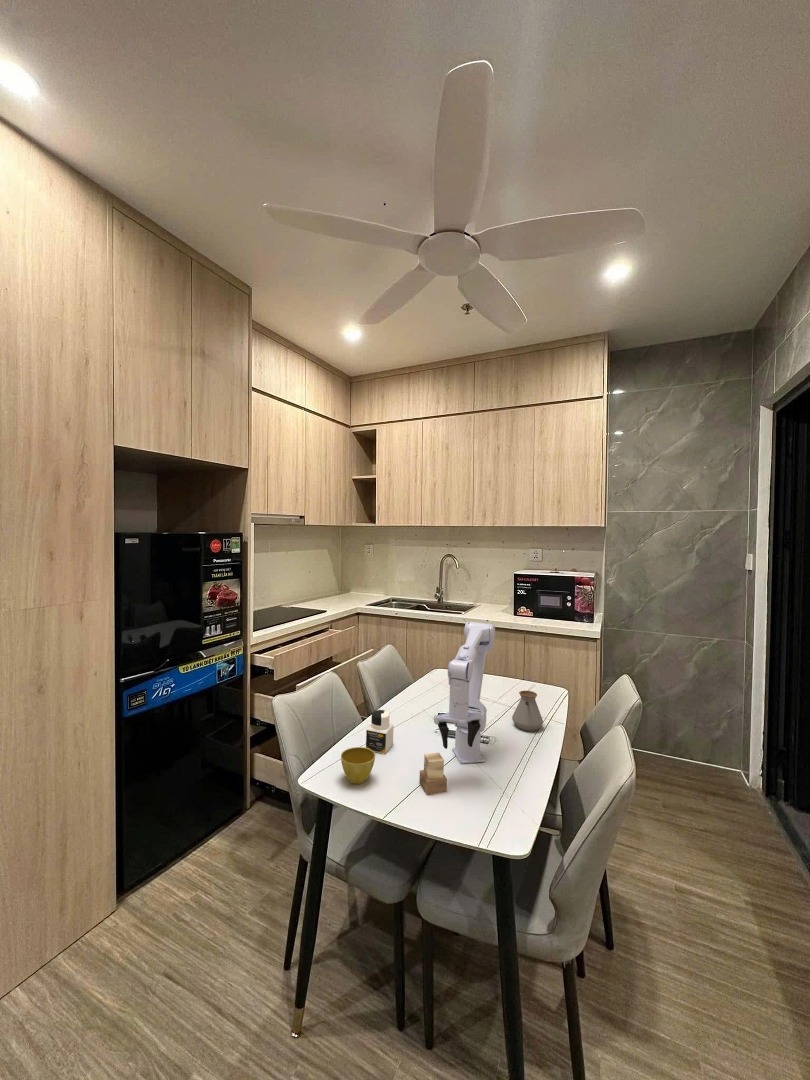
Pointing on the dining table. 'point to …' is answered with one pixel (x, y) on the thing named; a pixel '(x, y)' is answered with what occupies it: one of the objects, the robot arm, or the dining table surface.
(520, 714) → the coffee pot
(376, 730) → the medicine bottle
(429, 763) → the beech cube
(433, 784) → the walnut plinth
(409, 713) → the dining table surface
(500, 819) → the dining table surface
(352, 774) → the flower pot
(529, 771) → the dining table surface
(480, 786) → the dining table surface
